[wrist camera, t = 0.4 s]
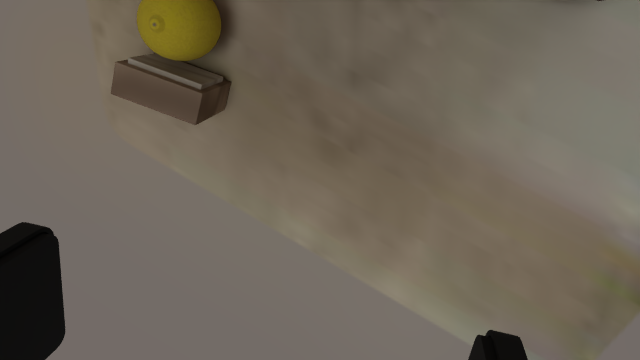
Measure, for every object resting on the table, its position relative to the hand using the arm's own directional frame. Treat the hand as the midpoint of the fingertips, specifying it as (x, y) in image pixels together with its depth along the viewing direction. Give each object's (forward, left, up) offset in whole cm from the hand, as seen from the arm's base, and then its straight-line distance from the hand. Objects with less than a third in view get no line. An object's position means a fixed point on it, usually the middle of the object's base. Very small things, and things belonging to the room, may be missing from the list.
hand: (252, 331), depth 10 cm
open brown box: (+4, -15, -30) cm, 34 cm away
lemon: (-1, -15, -30) cm, 34 cm away
